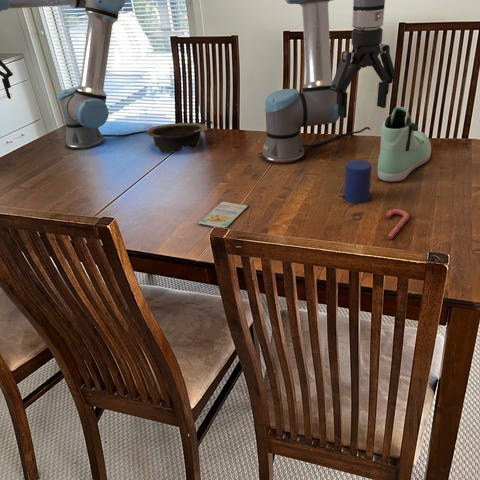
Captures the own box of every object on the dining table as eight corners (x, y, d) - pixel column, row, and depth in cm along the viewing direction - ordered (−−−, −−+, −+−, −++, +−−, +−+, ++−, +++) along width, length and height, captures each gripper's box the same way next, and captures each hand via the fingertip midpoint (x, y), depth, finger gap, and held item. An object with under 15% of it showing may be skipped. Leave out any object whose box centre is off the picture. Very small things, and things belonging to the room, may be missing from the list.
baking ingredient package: (197, 222, 136) (222, 200, 148) (198, 223, 137) (222, 201, 148) (225, 227, 133) (248, 204, 144) (225, 229, 133) (248, 206, 145)
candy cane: (369, 235, 126) (370, 230, 125) (390, 211, 136) (390, 206, 135) (392, 241, 122) (392, 236, 122) (411, 215, 133) (412, 211, 132)
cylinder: (371, 194, 146) (374, 161, 140) (365, 204, 140) (367, 171, 135) (348, 190, 149) (350, 158, 143) (341, 200, 144) (342, 167, 138)
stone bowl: (160, 161, 179) (155, 137, 175) (141, 147, 200) (136, 125, 195) (220, 146, 188) (216, 122, 184) (195, 134, 208) (192, 112, 204)
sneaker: (435, 147, 173) (444, 90, 162) (416, 186, 148) (424, 121, 137) (397, 143, 179) (403, 88, 168) (371, 180, 154) (377, 117, 143)
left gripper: (-77, 43, 146) (-51, 112, 157) (8, 31, 157) (28, 96, 168) (-79, 40, 151) (-53, 107, 163) (4, 29, 162) (23, 92, 173)
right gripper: (336, 36, 113) (333, 124, 124) (415, 22, 122) (406, 105, 133) (317, 33, 118) (316, 117, 129) (394, 20, 128) (387, 100, 139)
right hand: (362, 111), depth 131 cm, fingers open, 13 cm apart
